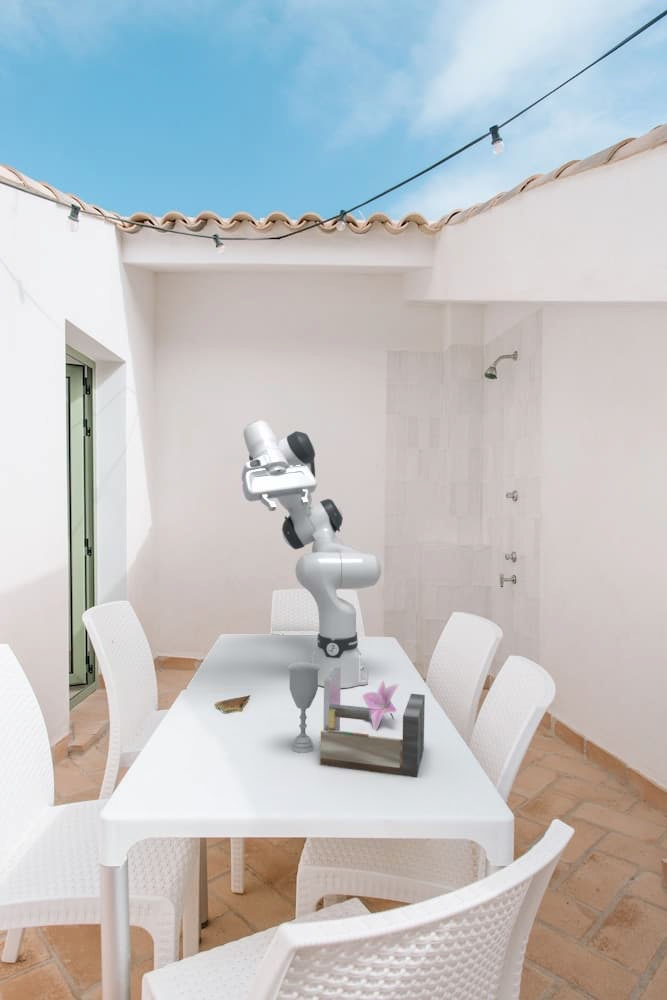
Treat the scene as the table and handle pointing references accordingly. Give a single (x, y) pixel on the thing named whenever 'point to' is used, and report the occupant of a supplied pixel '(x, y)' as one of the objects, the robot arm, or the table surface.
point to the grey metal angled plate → (334, 702)
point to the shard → (232, 704)
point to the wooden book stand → (379, 746)
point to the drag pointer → (332, 719)
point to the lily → (380, 702)
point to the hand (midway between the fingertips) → (289, 507)
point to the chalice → (303, 698)
